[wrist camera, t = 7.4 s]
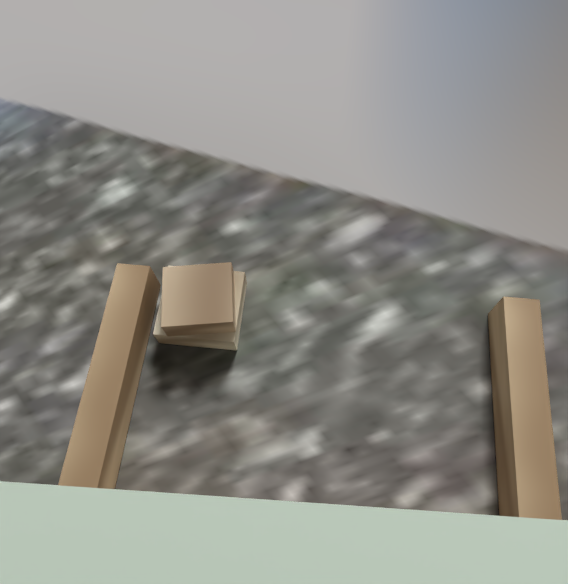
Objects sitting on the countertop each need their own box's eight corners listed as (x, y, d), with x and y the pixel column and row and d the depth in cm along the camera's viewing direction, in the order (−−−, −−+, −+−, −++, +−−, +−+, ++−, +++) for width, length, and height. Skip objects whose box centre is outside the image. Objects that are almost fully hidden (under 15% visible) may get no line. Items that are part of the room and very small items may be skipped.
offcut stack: (159, 343, 24) (145, 325, 22) (173, 276, 25) (162, 253, 23) (237, 351, 24) (231, 333, 22) (247, 283, 25) (242, 259, 23)
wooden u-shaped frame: (59, 565, 20) (35, 569, 19) (130, 282, 25) (117, 263, 24) (547, 627, 19) (573, 637, 17) (521, 317, 24) (539, 299, 22)
